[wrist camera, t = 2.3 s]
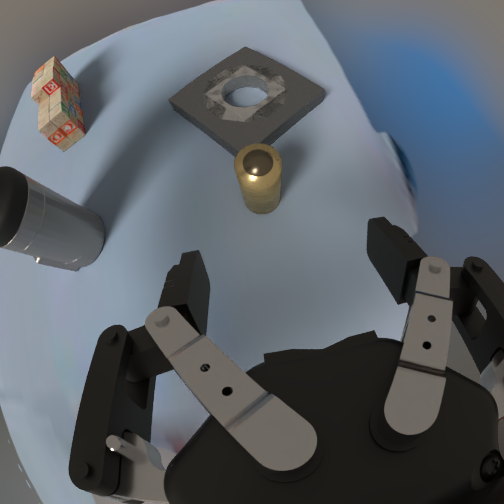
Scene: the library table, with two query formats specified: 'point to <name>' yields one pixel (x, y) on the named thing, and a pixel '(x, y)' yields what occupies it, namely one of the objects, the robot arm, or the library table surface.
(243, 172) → the brass sleeve
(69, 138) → the stack of blocks
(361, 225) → the library table surface
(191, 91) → the plate
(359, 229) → the library table surface
